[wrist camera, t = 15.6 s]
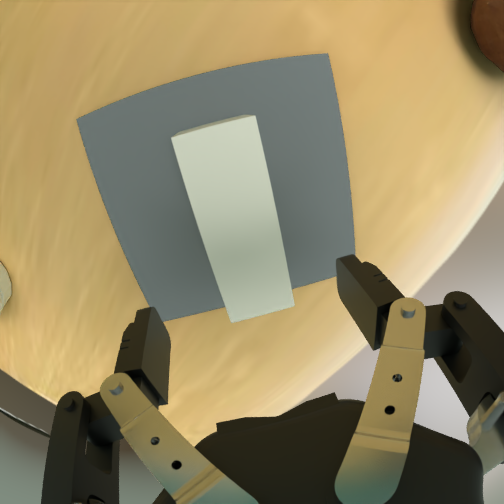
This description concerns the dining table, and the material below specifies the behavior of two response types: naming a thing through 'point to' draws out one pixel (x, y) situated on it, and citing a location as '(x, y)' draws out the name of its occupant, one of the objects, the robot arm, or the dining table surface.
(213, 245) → the cream block
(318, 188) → the mat
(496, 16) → the butternut squash
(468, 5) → the dining table surface
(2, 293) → the white cup
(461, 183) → the dining table surface
